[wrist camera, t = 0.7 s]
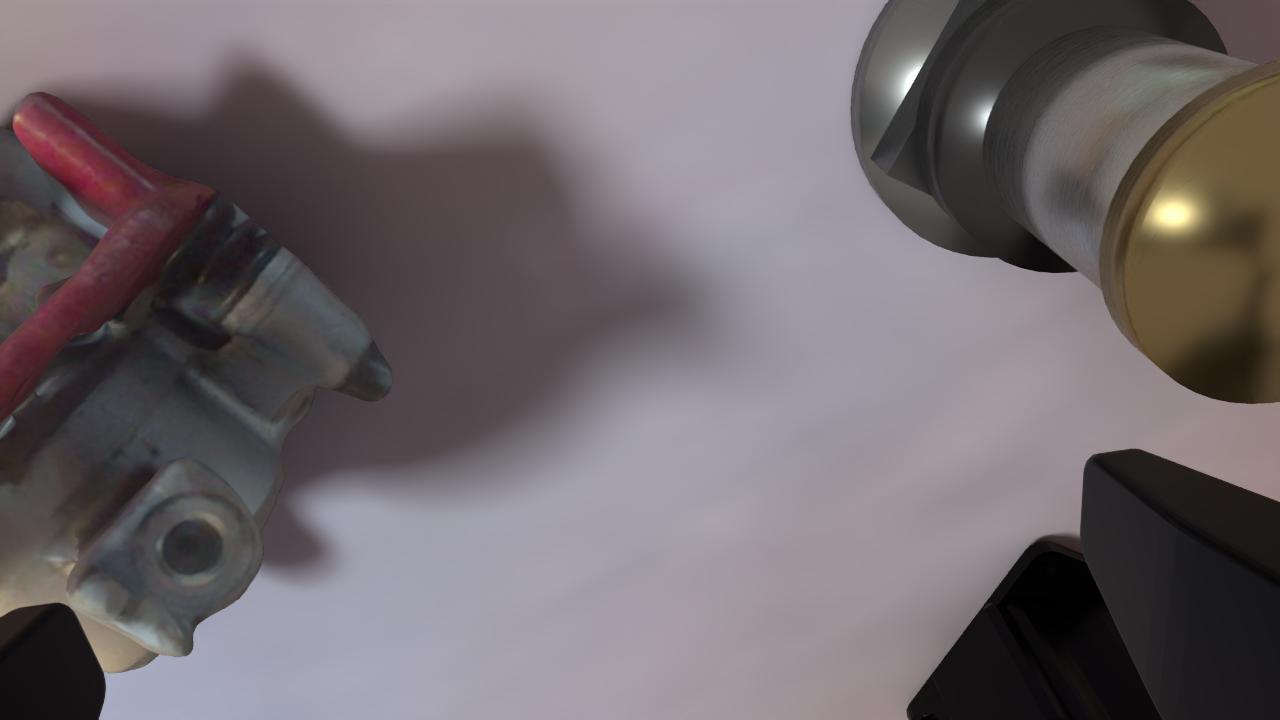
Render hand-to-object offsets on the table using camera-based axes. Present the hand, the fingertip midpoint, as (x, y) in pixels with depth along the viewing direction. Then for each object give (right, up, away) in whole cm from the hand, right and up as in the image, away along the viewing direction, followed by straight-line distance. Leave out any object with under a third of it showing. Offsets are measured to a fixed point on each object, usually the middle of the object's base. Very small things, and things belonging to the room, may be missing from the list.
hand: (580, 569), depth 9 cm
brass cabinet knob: (+8, +6, +10) cm, 14 cm away
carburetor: (-11, +3, +13) cm, 17 cm away
